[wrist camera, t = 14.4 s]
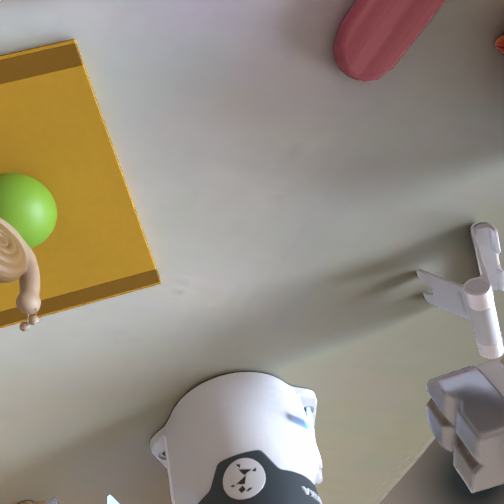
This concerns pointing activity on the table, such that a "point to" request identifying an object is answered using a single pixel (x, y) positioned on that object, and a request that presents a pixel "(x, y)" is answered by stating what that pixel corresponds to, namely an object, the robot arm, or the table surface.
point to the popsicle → (379, 34)
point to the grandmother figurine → (26, 502)
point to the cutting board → (69, 183)
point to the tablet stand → (474, 291)
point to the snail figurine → (24, 236)
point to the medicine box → (500, 44)
